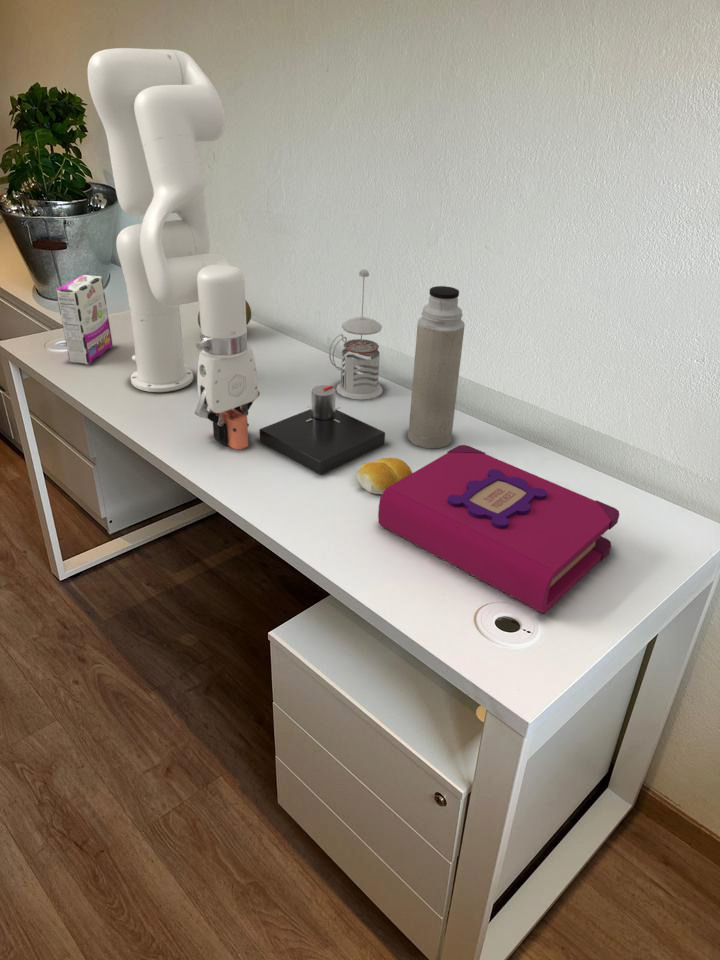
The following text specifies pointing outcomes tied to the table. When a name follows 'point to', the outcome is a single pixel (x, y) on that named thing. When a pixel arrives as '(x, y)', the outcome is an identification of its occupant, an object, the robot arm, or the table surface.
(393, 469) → the bread roll
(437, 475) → the book
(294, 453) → the hot plate
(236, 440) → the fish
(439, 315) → the thermos bottle
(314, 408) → the knob
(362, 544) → the table surface
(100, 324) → the candy bar box
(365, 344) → the french press
